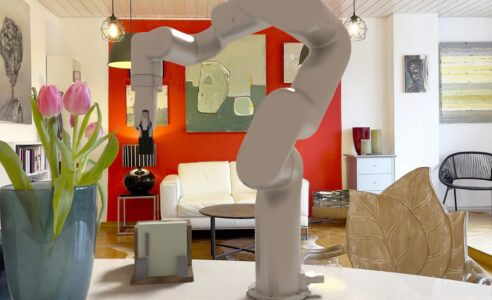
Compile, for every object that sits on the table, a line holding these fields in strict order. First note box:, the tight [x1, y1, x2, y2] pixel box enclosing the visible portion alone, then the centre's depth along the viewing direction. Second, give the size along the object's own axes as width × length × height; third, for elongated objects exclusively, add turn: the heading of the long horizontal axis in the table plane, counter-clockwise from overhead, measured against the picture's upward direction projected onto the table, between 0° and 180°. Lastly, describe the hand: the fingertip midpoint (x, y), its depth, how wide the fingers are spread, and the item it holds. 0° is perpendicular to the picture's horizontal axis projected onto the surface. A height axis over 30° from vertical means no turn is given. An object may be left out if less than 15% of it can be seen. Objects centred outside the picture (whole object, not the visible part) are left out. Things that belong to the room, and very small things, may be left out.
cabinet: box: [129, 218, 195, 286], centre depth 103 cm, size 14×20×11 cm
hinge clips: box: [136, 256, 188, 280], centre depth 97 cm, size 11×6×4 cm, turn 100°
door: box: [138, 221, 187, 277], centre depth 96 cm, size 11×3×12 cm, turn 100°
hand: (146, 154), depth 102 cm, fingers open, 9 cm apart
